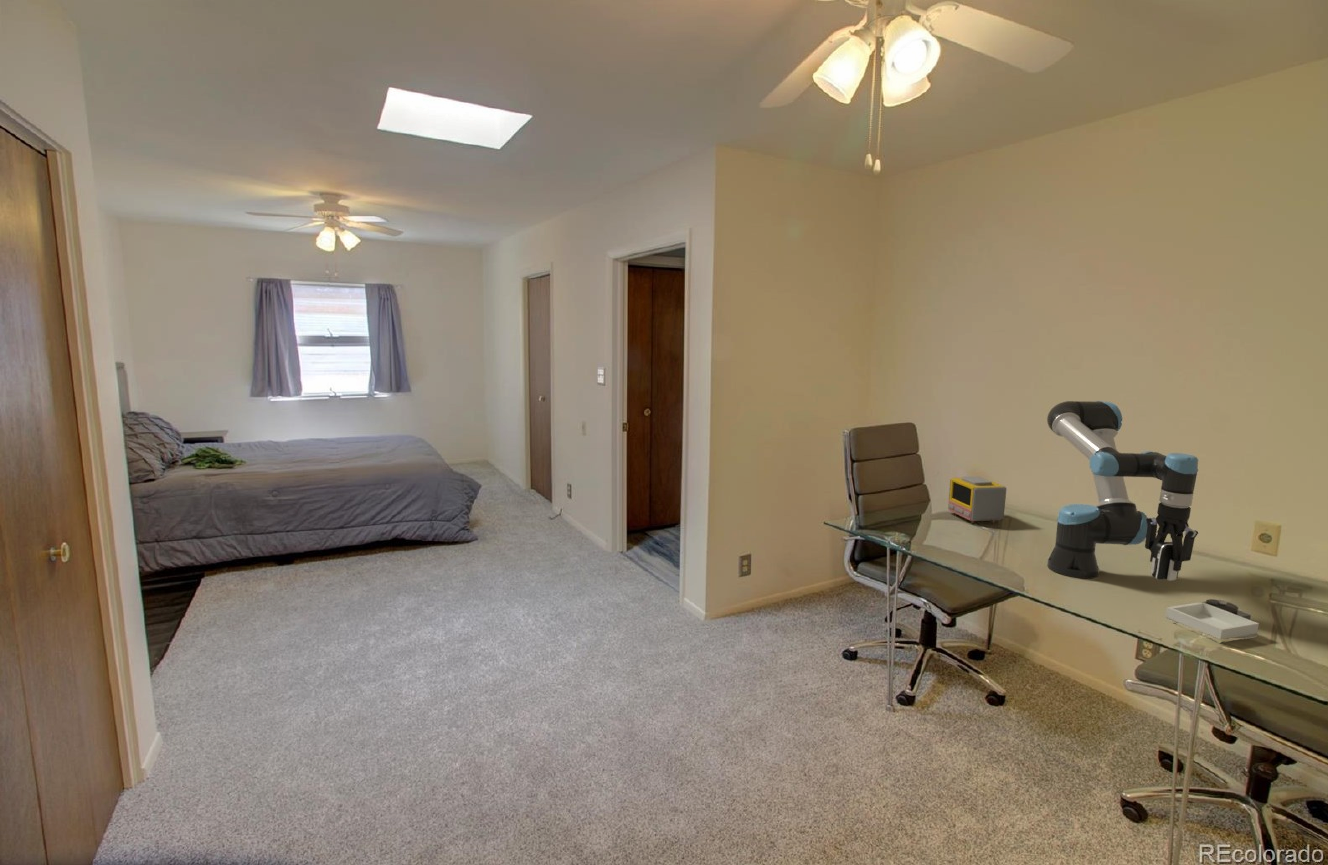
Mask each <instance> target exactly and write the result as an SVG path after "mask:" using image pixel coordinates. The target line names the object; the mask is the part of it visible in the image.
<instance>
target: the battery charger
mask: <svg viewBox="0 0 1328 865" xmlns="http://www.w3.org/2000/svg"><path fill="white" fill-rule="evenodd" d="M1153 557H1154V558H1156V568H1155V571H1154V572H1153V574H1152V573H1151V576H1152V577H1153V578H1155V579H1157V580H1167V577H1168V571H1169V565H1170V560H1172V559H1173V546H1172V541H1164V542H1160V543H1157V544H1156V545H1155V548H1154V552H1153ZM1179 572H1180V571H1178V572H1177V578H1176V579H1178V577H1179Z"/></svg>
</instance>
